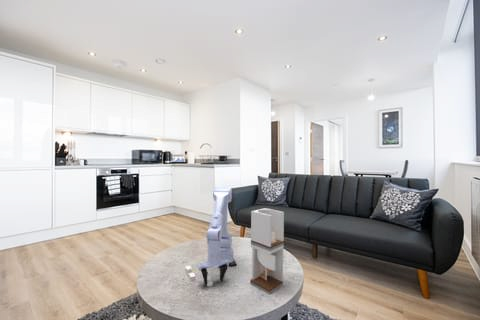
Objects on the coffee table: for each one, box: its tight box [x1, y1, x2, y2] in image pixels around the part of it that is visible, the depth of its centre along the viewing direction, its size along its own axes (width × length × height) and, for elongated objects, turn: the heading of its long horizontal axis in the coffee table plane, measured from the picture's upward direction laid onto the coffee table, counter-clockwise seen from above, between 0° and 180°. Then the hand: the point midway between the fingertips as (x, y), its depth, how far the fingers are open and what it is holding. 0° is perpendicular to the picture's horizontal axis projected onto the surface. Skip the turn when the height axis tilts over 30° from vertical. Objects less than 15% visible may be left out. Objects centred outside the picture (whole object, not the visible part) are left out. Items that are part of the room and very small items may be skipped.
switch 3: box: [206, 277, 214, 288], centre depth 103 cm, size 2×4×2 cm, turn 25°
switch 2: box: [188, 271, 196, 282], centre depth 107 cm, size 2×4×2 cm, turn 25°
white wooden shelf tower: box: [249, 207, 285, 295], centre depth 106 cm, size 11×11×35 cm
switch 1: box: [184, 265, 193, 274], centre depth 114 cm, size 2×4×2 cm, turn 25°
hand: (213, 282), depth 104 cm, fingers open, 7 cm apart
